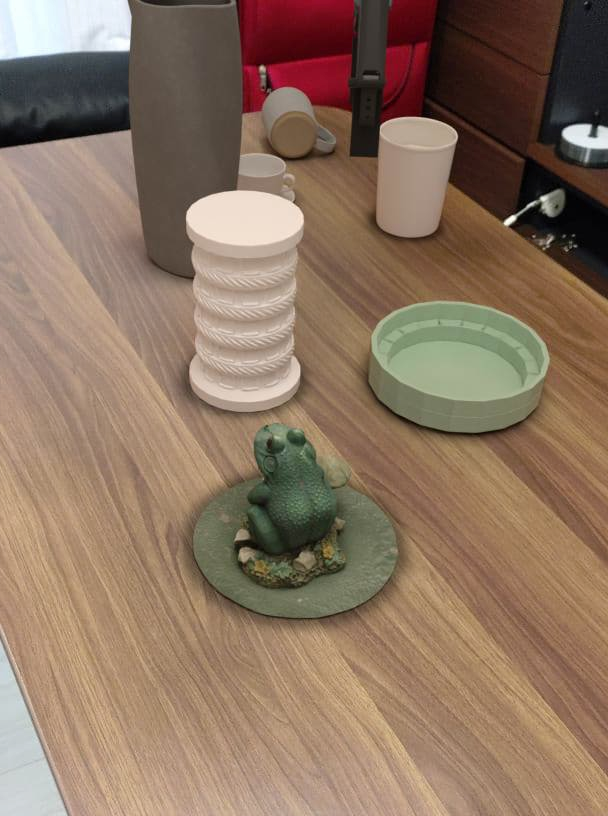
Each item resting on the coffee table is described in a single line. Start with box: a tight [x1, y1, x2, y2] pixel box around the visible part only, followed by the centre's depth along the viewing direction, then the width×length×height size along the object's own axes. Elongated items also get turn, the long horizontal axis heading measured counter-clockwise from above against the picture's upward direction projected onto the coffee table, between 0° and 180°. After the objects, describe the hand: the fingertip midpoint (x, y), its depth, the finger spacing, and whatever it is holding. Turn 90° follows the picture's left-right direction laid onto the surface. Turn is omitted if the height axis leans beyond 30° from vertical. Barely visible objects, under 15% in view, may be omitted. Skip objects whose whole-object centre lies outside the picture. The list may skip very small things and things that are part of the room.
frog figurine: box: [192, 422, 399, 619], centre depth 81 cm, size 18×18×12 cm
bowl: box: [367, 300, 551, 434], centre depth 102 cm, size 18×18×4 cm
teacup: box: [237, 152, 296, 203], centre depth 130 cm, size 10×10×5 cm
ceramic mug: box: [260, 86, 337, 159], centre depth 141 cm, size 11×8×8 cm
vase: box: [127, 0, 244, 279], centre depth 109 cm, size 12×12×30 cm
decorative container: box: [186, 191, 305, 413], centre depth 96 cm, size 12×12×18 cm
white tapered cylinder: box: [375, 116, 459, 239], centre depth 125 cm, size 10×10×12 cm
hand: (362, 128), depth 99 cm, fingers open, 13 cm apart
